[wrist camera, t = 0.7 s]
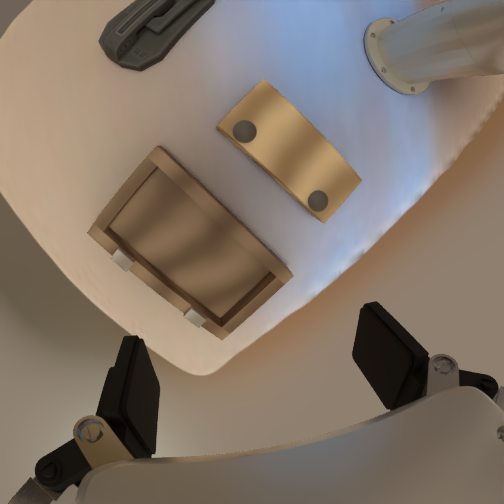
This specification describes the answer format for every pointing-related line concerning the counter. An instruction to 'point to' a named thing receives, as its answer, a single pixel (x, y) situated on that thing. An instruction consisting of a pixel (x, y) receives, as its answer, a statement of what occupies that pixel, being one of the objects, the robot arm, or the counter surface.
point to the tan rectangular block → (290, 150)
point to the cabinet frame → (188, 246)
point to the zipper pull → (149, 30)
